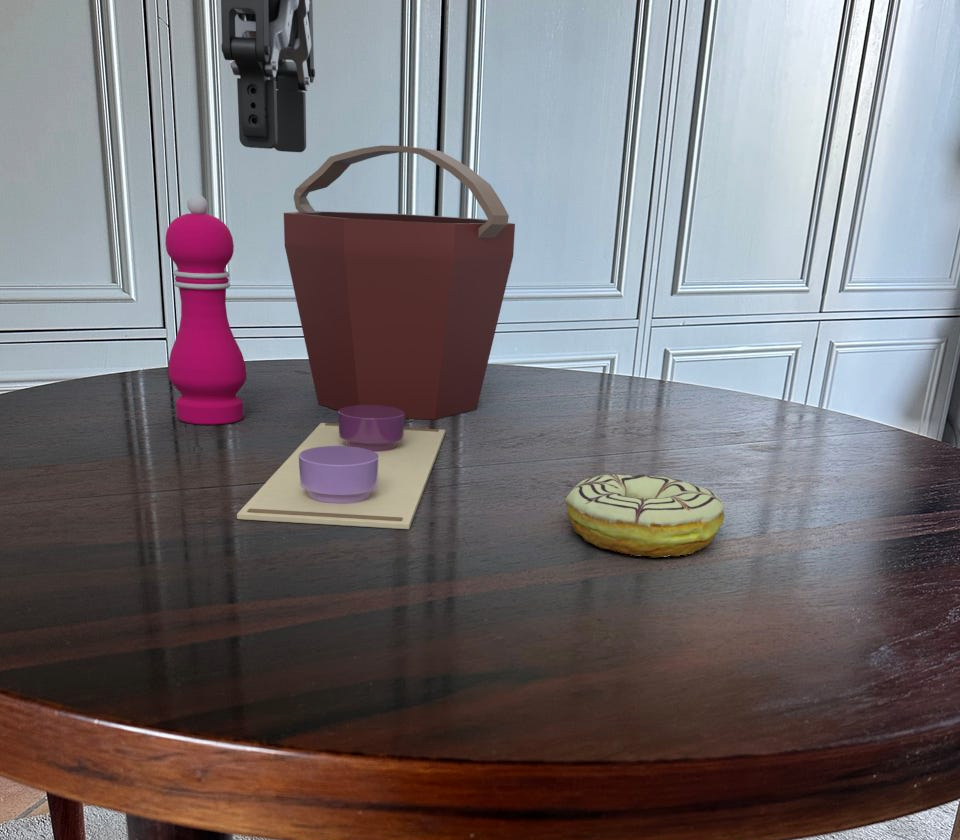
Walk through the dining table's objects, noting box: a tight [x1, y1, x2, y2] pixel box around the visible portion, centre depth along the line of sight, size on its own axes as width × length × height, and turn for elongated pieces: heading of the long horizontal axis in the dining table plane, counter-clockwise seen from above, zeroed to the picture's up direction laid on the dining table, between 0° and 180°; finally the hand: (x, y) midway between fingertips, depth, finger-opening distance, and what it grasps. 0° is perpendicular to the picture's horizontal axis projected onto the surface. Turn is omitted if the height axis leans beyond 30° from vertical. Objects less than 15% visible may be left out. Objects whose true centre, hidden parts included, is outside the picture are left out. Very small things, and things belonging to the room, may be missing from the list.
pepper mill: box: [165, 193, 248, 426], centre depth 95 cm, size 7×7×20 cm
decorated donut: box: [564, 474, 725, 558], centre depth 70 cm, size 10×11×4 cm
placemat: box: [236, 422, 446, 530], centre depth 84 cm, size 12×30×1 cm, turn 177°
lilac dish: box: [299, 446, 379, 503], centre depth 75 cm, size 6×6×3 cm
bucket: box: [283, 145, 516, 421], centre depth 106 cm, size 24×22×25 cm
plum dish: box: [337, 405, 406, 452], centre depth 90 cm, size 6×6×3 cm
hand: (275, 149), depth 67 cm, fingers open, 8 cm apart
